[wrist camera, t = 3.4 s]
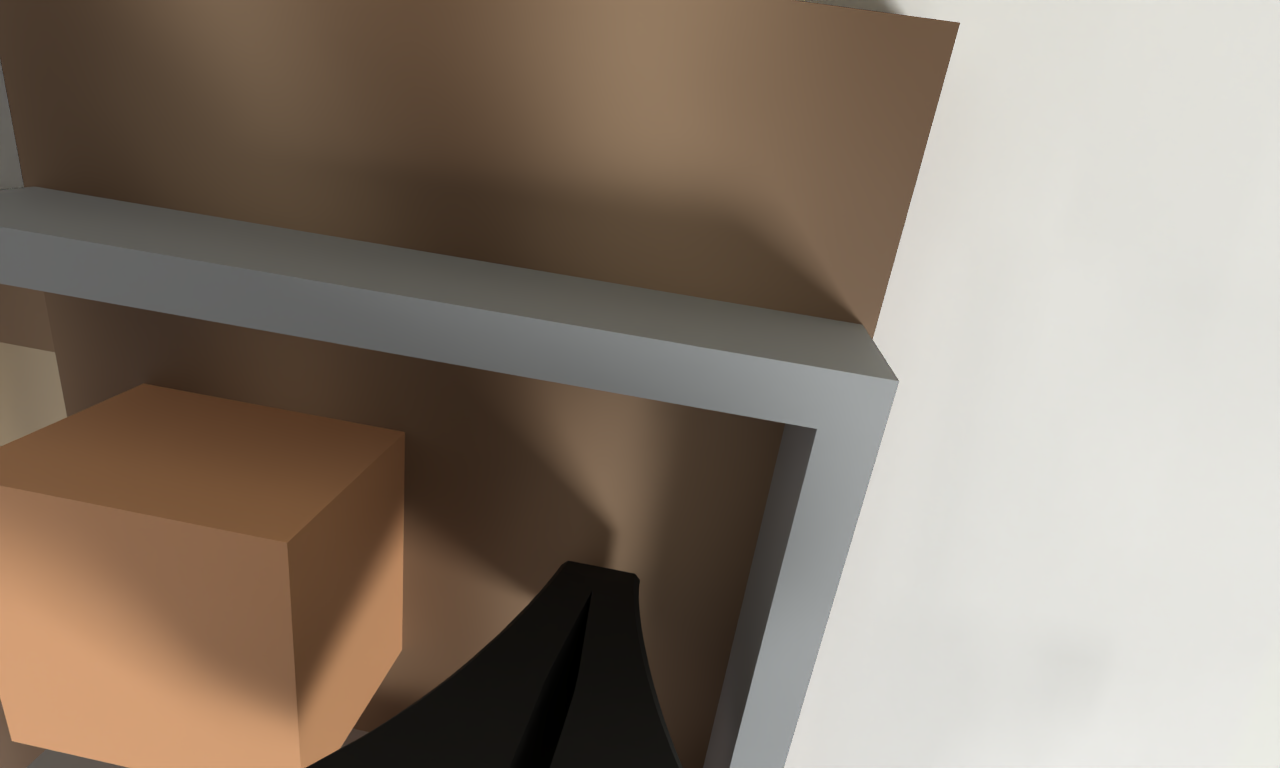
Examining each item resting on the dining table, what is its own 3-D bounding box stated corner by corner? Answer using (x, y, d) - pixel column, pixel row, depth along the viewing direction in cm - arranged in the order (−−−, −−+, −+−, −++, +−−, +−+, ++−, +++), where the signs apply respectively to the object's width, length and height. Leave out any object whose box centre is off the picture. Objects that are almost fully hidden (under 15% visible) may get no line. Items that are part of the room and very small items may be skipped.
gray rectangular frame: (128, 705, 16) (24, 805, 13) (35, 186, 12) (-141, 202, 9) (724, 836, 15) (723, 969, 13) (862, 324, 11) (898, 380, 8)
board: (-7, 714, 20) (-85, 775, 18) (-239, -121, 12) (-413, -164, 10) (704, 873, 18) (700, 958, 16) (921, 39, 11) (960, 22, 9)
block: (174, 602, 14) (12, 741, 11) (143, 383, 13) (-61, 473, 9) (402, 650, 14) (303, 807, 11) (405, 432, 12) (286, 543, 9)
